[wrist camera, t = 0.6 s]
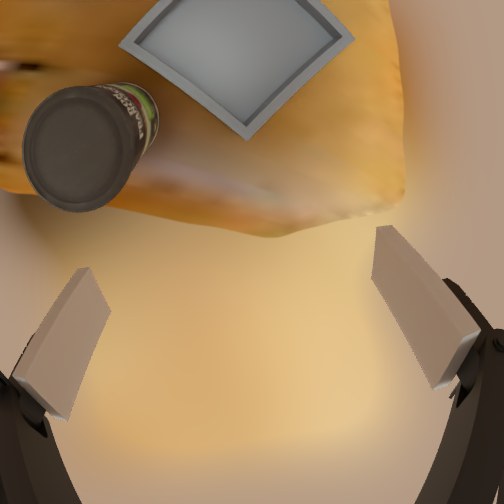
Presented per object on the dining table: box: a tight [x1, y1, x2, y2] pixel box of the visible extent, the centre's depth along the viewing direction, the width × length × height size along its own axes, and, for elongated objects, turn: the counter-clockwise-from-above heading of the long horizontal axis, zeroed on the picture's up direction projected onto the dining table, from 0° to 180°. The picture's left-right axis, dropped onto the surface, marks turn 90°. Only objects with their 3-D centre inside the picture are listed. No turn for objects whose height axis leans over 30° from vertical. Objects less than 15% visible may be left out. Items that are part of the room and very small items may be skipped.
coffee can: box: [22, 82, 159, 212], centre depth 23 cm, size 10×10×14 cm
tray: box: [118, 0, 355, 141], centre depth 24 cm, size 18×18×3 cm
